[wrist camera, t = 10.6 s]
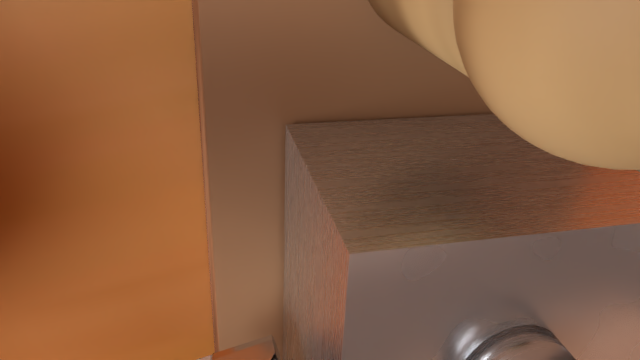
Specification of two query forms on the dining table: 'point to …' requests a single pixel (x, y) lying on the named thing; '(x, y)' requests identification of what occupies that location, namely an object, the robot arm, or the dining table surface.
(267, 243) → the brown lever base
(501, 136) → the box with chrome knob
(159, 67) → the dining table surface
